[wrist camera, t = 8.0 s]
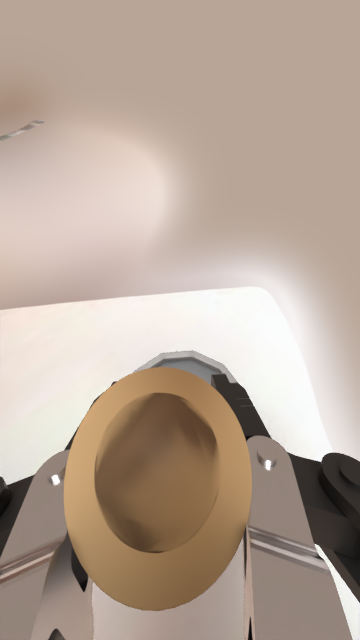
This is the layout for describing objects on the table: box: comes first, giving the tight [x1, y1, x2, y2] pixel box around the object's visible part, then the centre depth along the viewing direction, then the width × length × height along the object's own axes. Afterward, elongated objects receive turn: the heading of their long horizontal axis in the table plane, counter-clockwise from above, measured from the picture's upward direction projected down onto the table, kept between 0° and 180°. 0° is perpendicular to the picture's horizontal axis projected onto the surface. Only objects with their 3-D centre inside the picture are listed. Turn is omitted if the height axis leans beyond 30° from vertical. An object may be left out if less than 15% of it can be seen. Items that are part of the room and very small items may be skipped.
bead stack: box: [64, 367, 252, 611], centre depth 8 cm, size 4×4×9 cm
